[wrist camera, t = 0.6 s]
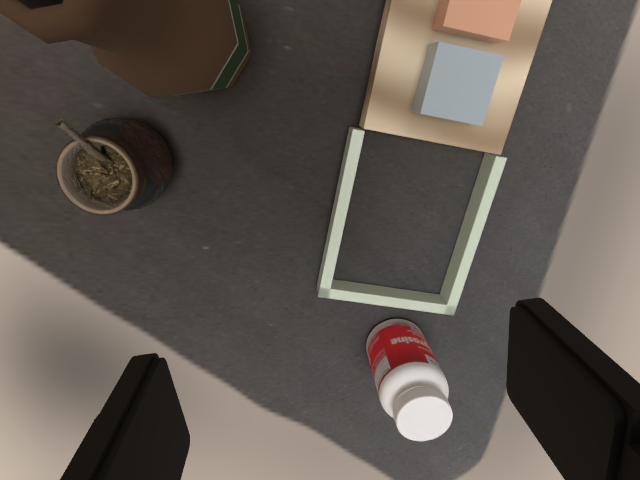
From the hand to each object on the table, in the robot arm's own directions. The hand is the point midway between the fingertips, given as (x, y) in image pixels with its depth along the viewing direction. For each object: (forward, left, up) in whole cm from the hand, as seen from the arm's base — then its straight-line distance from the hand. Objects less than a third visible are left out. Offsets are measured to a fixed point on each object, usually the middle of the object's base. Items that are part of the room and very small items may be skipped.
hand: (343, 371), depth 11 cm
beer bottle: (-9, -10, -28) cm, 31 cm away
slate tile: (-9, +10, -25) cm, 29 cm away
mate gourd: (+1, -15, -28) cm, 32 cm away
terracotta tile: (-15, +10, -25) cm, 31 cm away
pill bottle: (+16, +12, -28) cm, 35 cm away
